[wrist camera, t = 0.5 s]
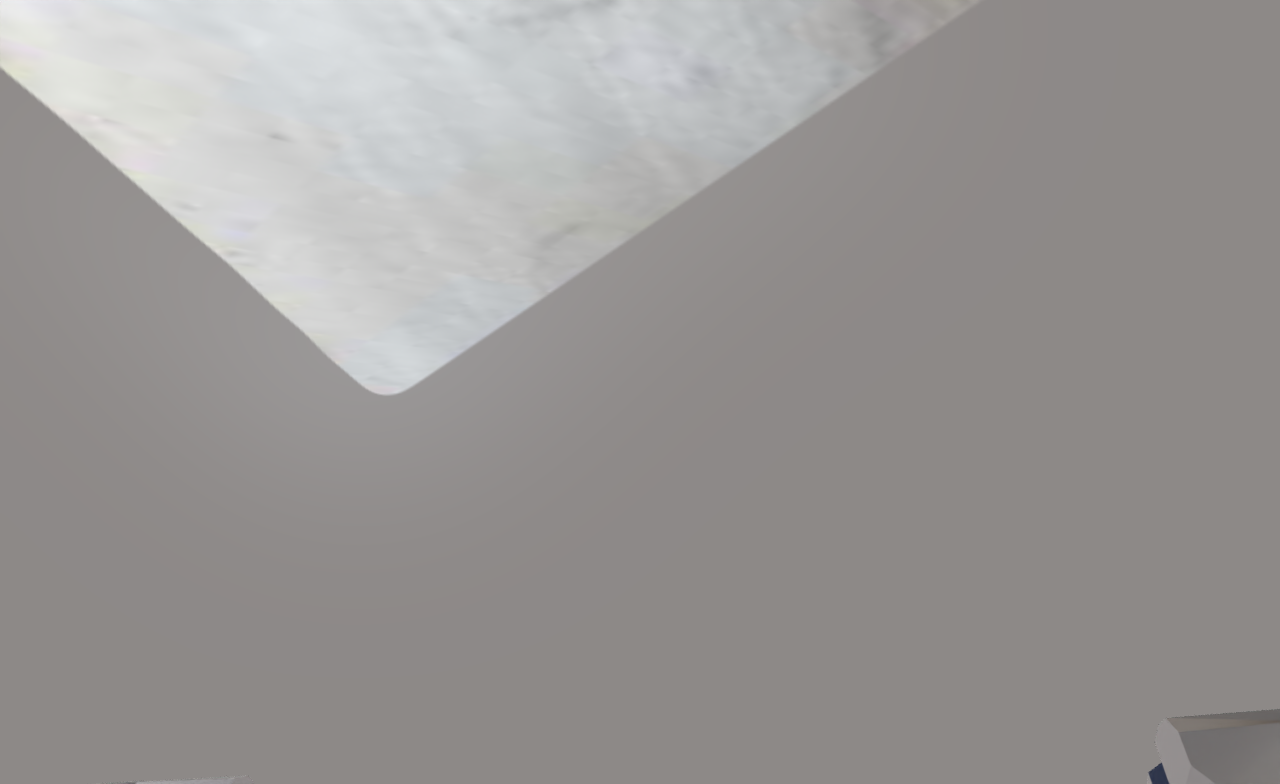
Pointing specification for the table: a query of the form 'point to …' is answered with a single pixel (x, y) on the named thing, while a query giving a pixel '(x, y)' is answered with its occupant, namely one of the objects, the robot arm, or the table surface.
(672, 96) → the table surface
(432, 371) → the table surface
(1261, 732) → the robot arm
